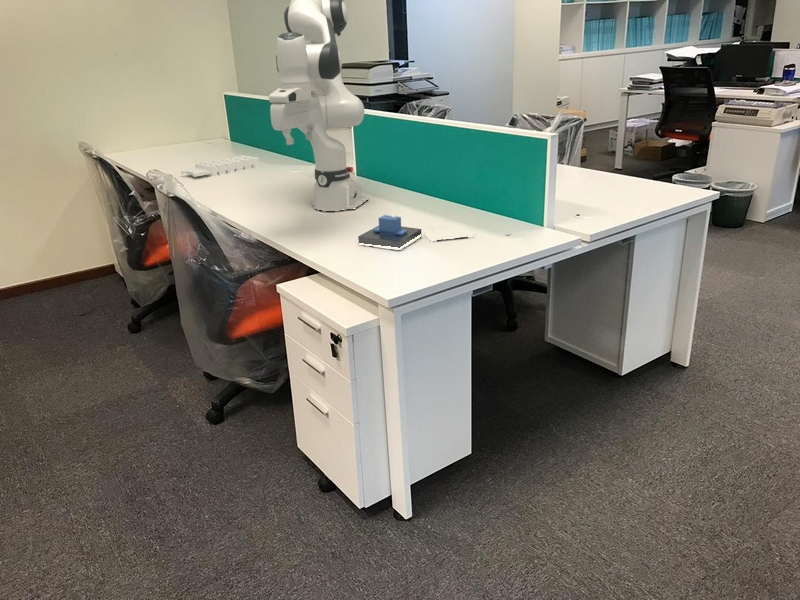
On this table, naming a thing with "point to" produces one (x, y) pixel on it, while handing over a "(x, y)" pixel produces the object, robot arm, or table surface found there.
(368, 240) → the plate
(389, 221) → the block
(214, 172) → the organizer
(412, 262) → the table surface
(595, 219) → the table surface
